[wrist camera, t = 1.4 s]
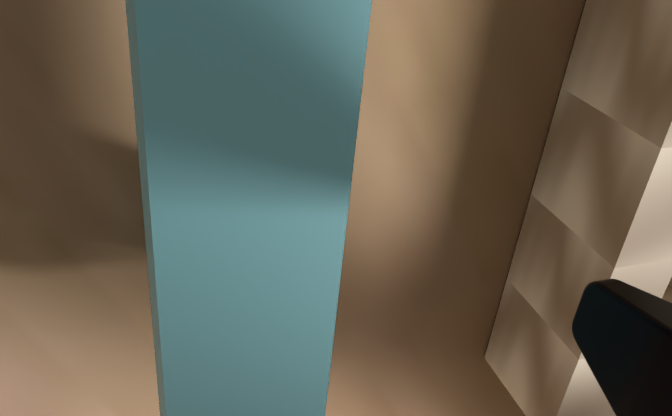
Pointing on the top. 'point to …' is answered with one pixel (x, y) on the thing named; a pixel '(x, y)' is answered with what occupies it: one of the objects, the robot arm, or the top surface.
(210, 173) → the clip
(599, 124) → the beige patterned block
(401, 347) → the top surface
